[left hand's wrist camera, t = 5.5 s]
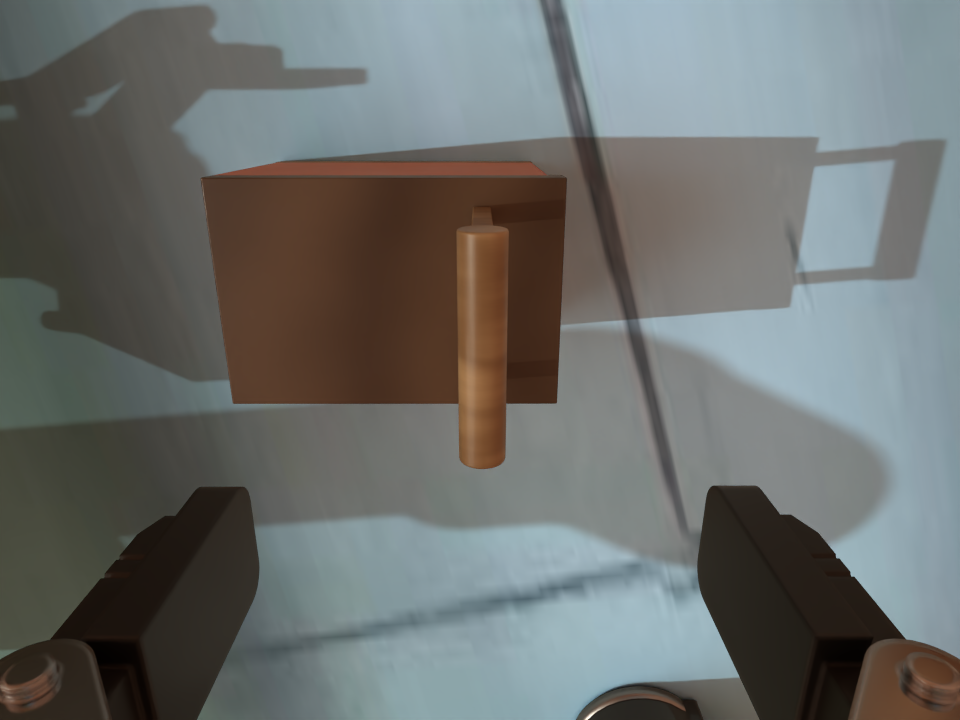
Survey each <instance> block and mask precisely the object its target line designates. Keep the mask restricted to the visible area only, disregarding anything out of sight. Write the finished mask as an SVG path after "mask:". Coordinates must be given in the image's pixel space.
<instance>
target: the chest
mask: <svg viewBox="0 0 960 720" xmlns="http://www.w3.org/2000/svg"><path fill="white" fill-rule="evenodd" d="M218 175H546V174H545V173H544V172H543V171H541V170H540V169H539V168H537V167H536V166H535V165H534V164H532V162H531V161H281V162H276V163H273V164H268V165H263V166H258V167H253V168H248V169H243V170H238V171H233V172H228V173H223V174H218Z"/></svg>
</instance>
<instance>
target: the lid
mask: <svg viewBox="0 0 960 720" xmlns="http://www.w3.org/2000/svg"><path fill="white" fill-rule="evenodd" d="M201 184H202V191H203V198H204V205H205V212H206V219H207V226H208V233H209V240H210V247H211V254H212V261H213V268H214V275H215V282H216V289H217V296H218V303H219V310H220V317H221V324H222V331H223V338H224V345H225V352H226V359H227V366H228V373H229V380H230V387H231V393H232V400H233V403H234V404H459V458H460V461H461V462H462V463H463V464H464V465H466V466H468V467H471V468H476V469H489V468H494V467H497V466H499V465H500V464H502V463H503V462H504V460H505V450H506V404H539V403H557V388H558V366H559V344H560V321H561V299H562V276H563V254H564V232H565V209H566V187H567V178H566V177H564V176H562V175H212V176H207V177H202V178H201Z"/></svg>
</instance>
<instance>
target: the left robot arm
mask: <svg viewBox="0 0 960 720" xmlns="http://www.w3.org/2000/svg"><path fill="white" fill-rule="evenodd" d="M697 572H698V581H699V587H700V591H701V594H702V597H703V599H704V602H705V604H706V606H707V608H708V610H709V612H710V614H711V617H712V619H713V621H714V623H715V625H716V627H717V629H718V632H719V634H720V636H721V638H722V640H723V642H724V644H725V647H726V649H727V651H728V653H729V655H730V657H731V659H732V661H733V664H734V666H735V668H736V670H737V672H738V674H739V676H740V679H741V681H742V683H743V685H744V687H745V689H746V691H747V693H748V696H749V698H750V700H751V702H752V704H753V706H754V708H755V711H756V713H757V715H758V717H759V719H760V720H960V659H958V658H957V657H955V656H953V655H951V654H949V653H947V652H945V651H943V650H941V649H938V648H936V647H933V646H930V645H928V644H925V643H921V642H917V641H913V640H906V639H905V638H904V636H903V635H902V634H901V633H900V632H899V630H898V629H897V628H896V627H895V626H894V624H893V623H892V622H891V621H890V620H889V618H888V617H887V616H886V615H885V613H884V612H883V611H882V610H881V609H880V607H879V606H878V605H877V604H876V603H875V601H874V600H873V599H872V598H871V596H870V595H869V594H868V593H867V592H866V590H865V589H864V588H863V587H862V586H861V584H860V583H859V582H858V581H857V579H856V578H855V577H851V575H850V571H849V570H848V569H847V567H846V566H845V565H844V564H843V562H842V561H841V560H840V559H836V554H835V553H834V552H833V550H832V549H831V548H830V547H829V545H828V544H827V543H826V542H825V541H824V539H823V538H822V537H821V536H820V535H819V533H818V532H816V531H815V530H813V529H812V528H810V527H809V526H807V525H806V524H804V523H803V522H801V521H800V520H798V519H797V518H795V517H794V516H792V515H780V514H779V512H778V511H777V510H776V508H775V507H774V506H773V505H772V503H771V502H770V501H769V499H768V498H767V497H766V495H765V494H764V493H763V491H762V490H761V489H760V488H759V487H757V486H712V487H710V489H709V491H708V493H707V497H706V503H705V511H704V518H703V525H702V532H701V540H700V547H699V554H698V563H697ZM258 580H259V558H258V550H257V543H256V536H255V529H254V522H253V515H252V508H251V501H250V496H249V493H248V491H247V489H246V488H245V487H199V488H198V489H196V490H195V492H194V493H193V494H192V495H191V497H190V498H189V499H188V501H187V502H186V503H185V504H184V506H183V507H182V508H181V510H180V511H179V512H178V513H177V515H176V516H164V517H163V518H161V519H160V520H158V521H157V522H155V523H154V524H152V525H151V526H149V527H148V528H146V529H145V530H143V531H142V532H140V533H139V534H137V536H136V537H135V538H134V539H133V540H132V542H131V543H130V544H129V545H128V546H127V548H126V549H125V550H124V551H123V552H122V554H121V555H120V559H119V560H116V561H115V562H114V563H113V564H112V566H111V567H110V568H109V569H108V571H107V572H106V573H105V577H104V578H101V579H100V580H99V581H98V583H97V584H96V585H95V586H94V587H93V589H92V590H91V591H90V592H89V593H88V595H87V596H86V597H85V598H84V599H83V601H82V602H81V603H80V604H79V605H78V607H77V608H76V609H75V610H74V611H73V613H72V614H71V615H70V616H69V617H68V619H67V620H66V621H65V622H64V623H63V625H62V626H61V627H60V628H59V629H58V631H57V632H56V633H55V634H54V635H53V637H52V638H51V639H50V640H47V641H43V642H39V643H35V644H32V645H30V646H27V647H24V648H22V649H19V650H17V651H15V652H13V653H11V654H9V655H7V656H5V657H3V658H2V659H0V720H197V718H198V716H199V714H200V712H201V710H202V708H203V706H204V703H205V701H206V699H207V697H208V695H209V693H210V691H211V689H212V687H213V684H214V682H215V680H216V678H217V676H218V674H219V672H220V670H221V668H222V665H223V663H224V661H225V659H226V657H227V655H228V653H229V651H230V649H231V646H232V644H233V642H234V640H235V638H236V636H237V634H238V632H239V630H240V627H241V625H242V623H243V621H244V619H245V617H246V615H247V613H248V611H249V609H250V606H251V604H252V602H253V600H254V597H255V594H256V591H257V586H258ZM576 720H703V717H702V715H701V712H700V709H699V707H698V704H697V701H695V700H681V699H680V698H678V697H677V696H675V695H674V694H672V693H670V692H667V691H665V690H662V689H658V688H653V687H645V686H634V687H625V688H620V689H616V690H613V691H610V692H608V693H605V694H603V695H601V696H599V697H598V698H596V699H594V700H593V701H592V702H590V703H589V704H588V705H587V706H586V707H585V708H584V709H583V710H582V711H581V713H580V714H579V715H578V717H577V719H576Z"/></svg>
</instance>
